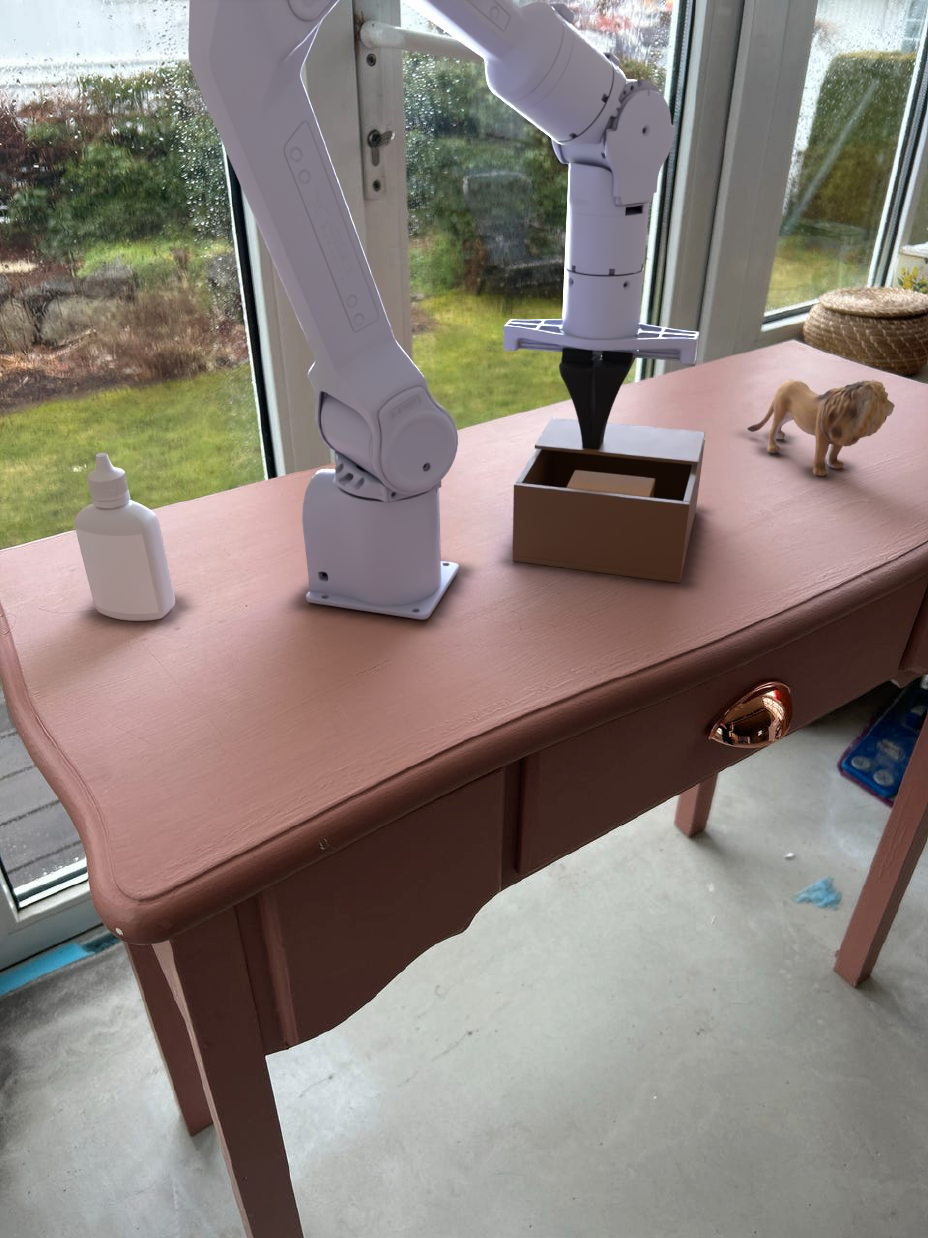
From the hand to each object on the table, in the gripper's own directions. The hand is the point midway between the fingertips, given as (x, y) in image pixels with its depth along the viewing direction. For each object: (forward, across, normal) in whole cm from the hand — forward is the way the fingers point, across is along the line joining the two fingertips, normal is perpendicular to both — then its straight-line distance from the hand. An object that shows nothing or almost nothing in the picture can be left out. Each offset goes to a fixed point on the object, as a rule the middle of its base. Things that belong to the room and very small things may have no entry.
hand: (592, 444), depth 76 cm
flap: (0, -2, -2) cm, 3 cm away
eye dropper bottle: (+7, +29, +22) cm, 37 cm away
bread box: (+7, -2, +2) cm, 8 cm away
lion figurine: (+7, -18, -20) cm, 28 cm away
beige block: (+7, -2, +2) cm, 7 cm away
